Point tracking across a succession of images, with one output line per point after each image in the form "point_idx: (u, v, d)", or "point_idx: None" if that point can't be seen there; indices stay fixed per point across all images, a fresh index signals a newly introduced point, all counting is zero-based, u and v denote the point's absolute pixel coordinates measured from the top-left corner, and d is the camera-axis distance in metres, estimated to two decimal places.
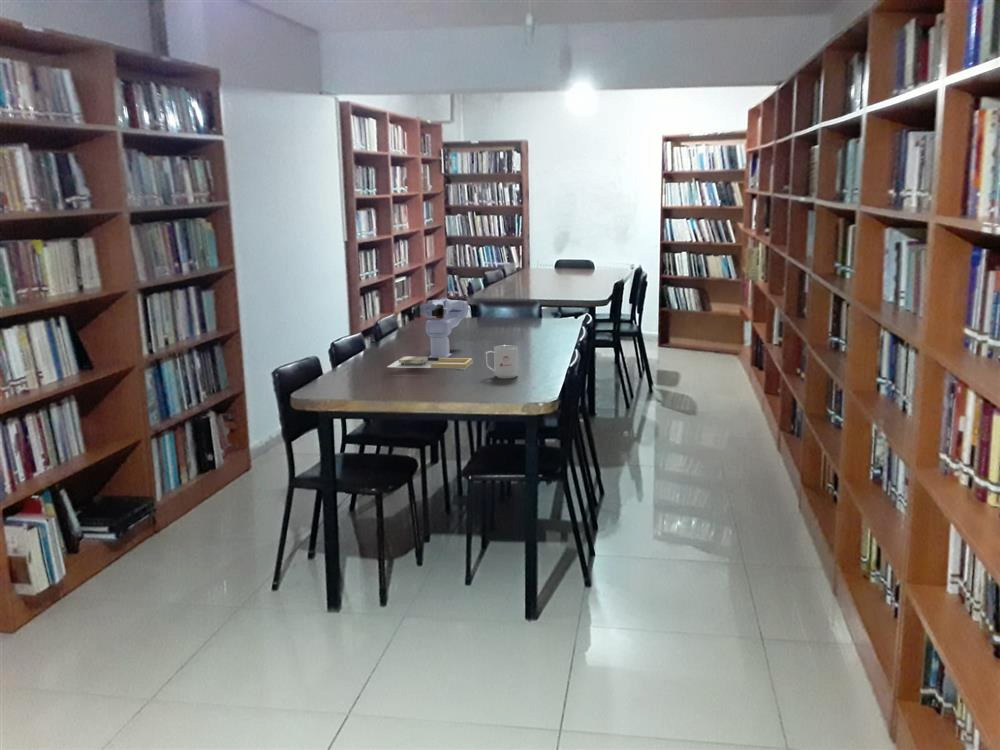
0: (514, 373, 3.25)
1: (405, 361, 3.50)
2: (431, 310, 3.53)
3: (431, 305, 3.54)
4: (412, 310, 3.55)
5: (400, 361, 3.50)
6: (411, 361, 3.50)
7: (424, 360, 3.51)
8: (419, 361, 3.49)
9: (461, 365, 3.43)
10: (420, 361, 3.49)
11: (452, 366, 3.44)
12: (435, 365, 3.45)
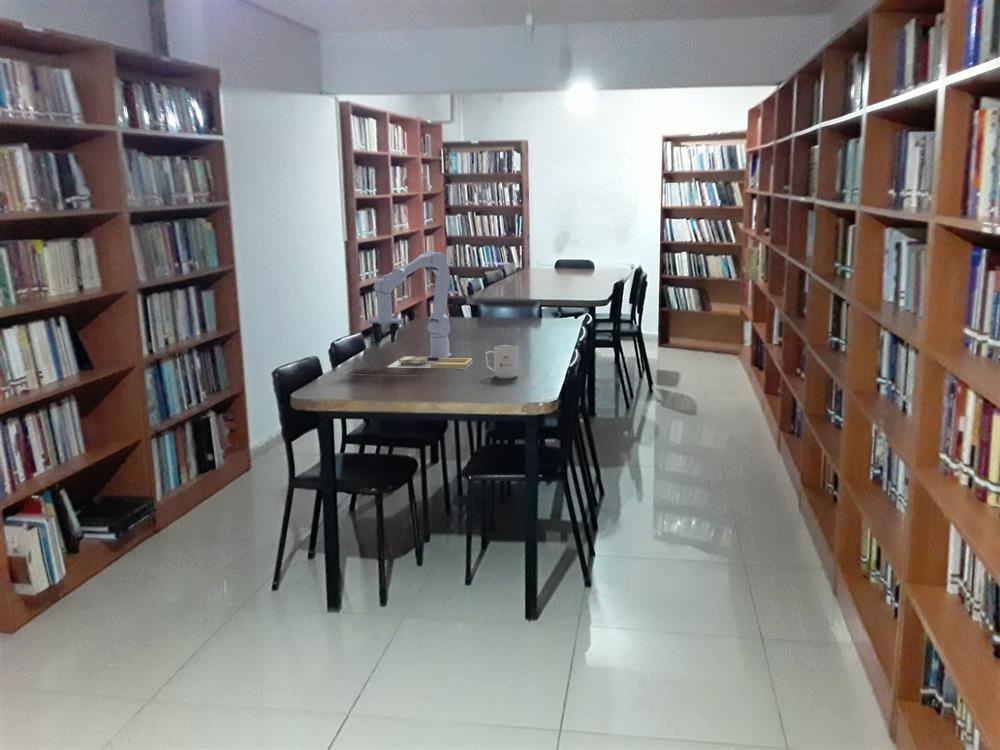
0: (514, 373, 3.25)
1: (405, 361, 3.50)
2: None
3: None
4: (368, 323, 3.54)
5: (400, 361, 3.50)
6: (411, 361, 3.50)
7: (424, 360, 3.51)
8: (419, 361, 3.49)
9: (461, 365, 3.43)
10: (420, 361, 3.49)
11: (452, 366, 3.44)
12: (435, 365, 3.45)
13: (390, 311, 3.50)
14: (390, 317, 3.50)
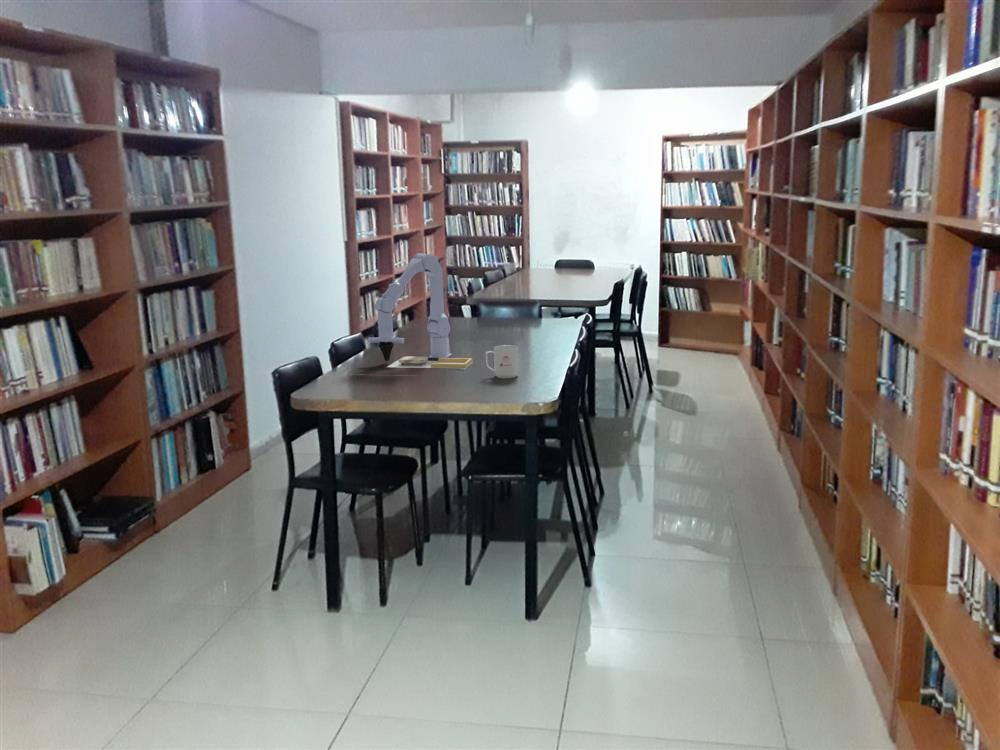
0: (514, 373, 3.25)
1: (405, 361, 3.50)
2: None
3: None
4: (369, 342, 3.55)
5: (400, 361, 3.50)
6: (411, 361, 3.50)
7: (424, 360, 3.51)
8: (419, 361, 3.49)
9: (461, 365, 3.43)
10: (420, 361, 3.49)
11: (452, 366, 3.44)
12: (435, 365, 3.45)
13: (391, 330, 3.51)
14: (391, 336, 3.52)
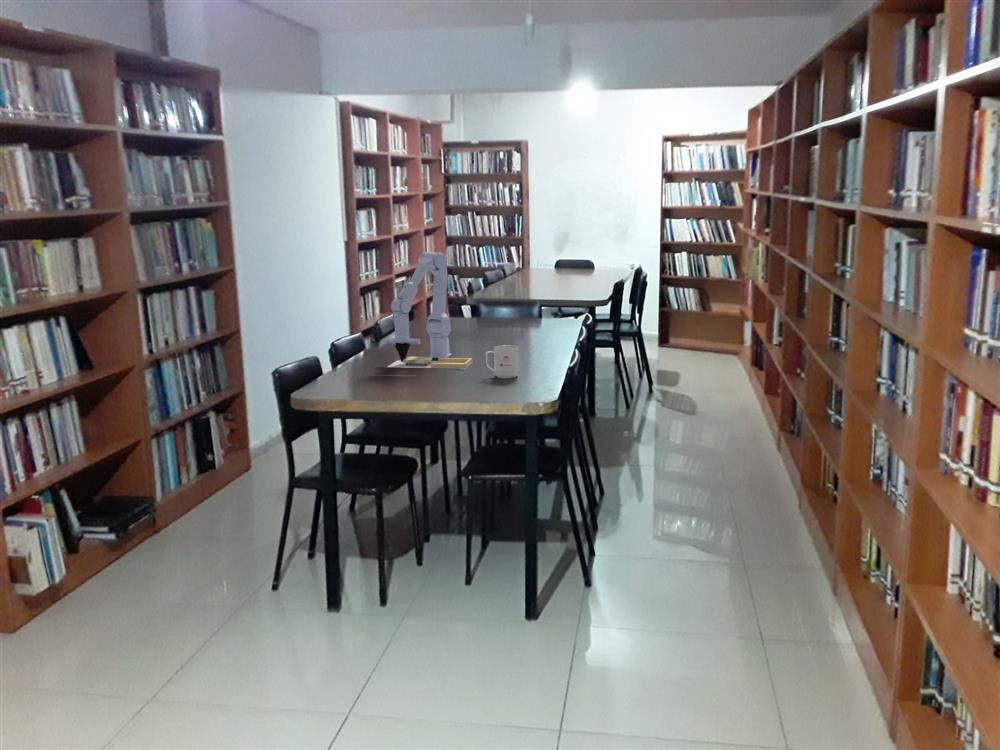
0: (514, 373, 3.25)
1: (409, 361, 3.50)
2: None
3: None
4: (386, 343, 3.54)
5: (404, 361, 3.50)
6: (415, 361, 3.49)
7: (428, 360, 3.50)
8: (423, 361, 3.48)
9: (461, 365, 3.43)
10: (424, 361, 3.48)
11: (452, 366, 3.44)
12: (435, 365, 3.45)
13: (407, 331, 3.50)
14: (407, 337, 3.50)
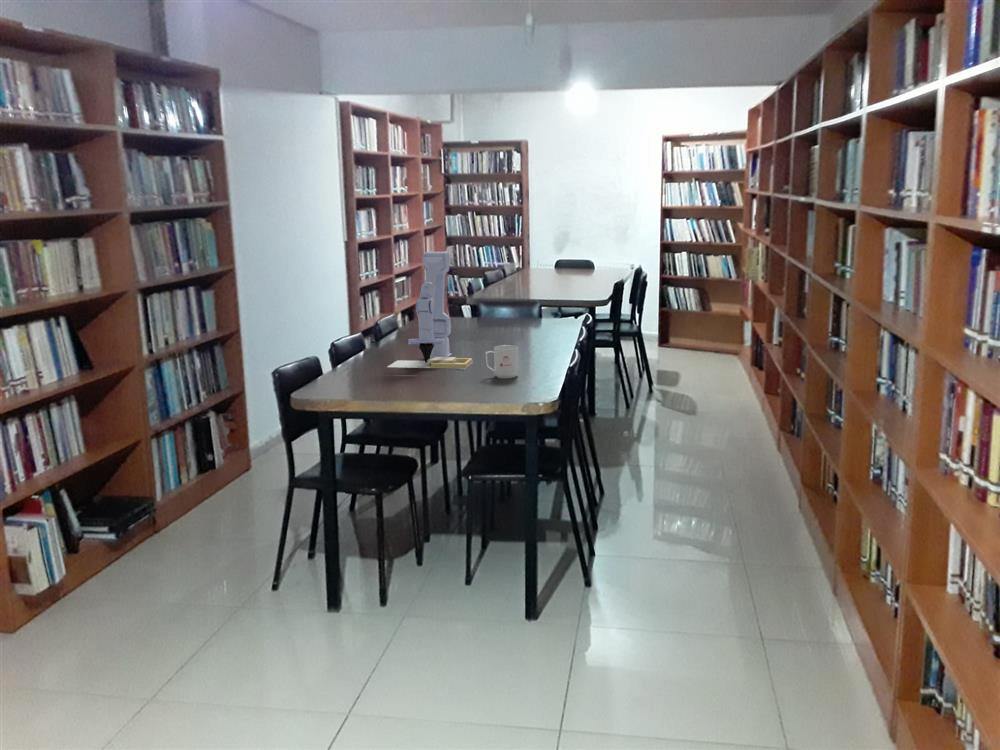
0: (514, 373, 3.25)
1: (434, 361, 3.48)
2: None
3: None
4: (409, 343, 3.52)
5: (429, 361, 3.48)
6: (440, 361, 3.47)
7: (453, 360, 3.49)
8: (448, 361, 3.47)
9: (461, 365, 3.43)
10: (449, 361, 3.46)
11: (452, 366, 3.44)
12: (435, 365, 3.45)
13: (431, 331, 3.48)
14: (431, 337, 3.48)
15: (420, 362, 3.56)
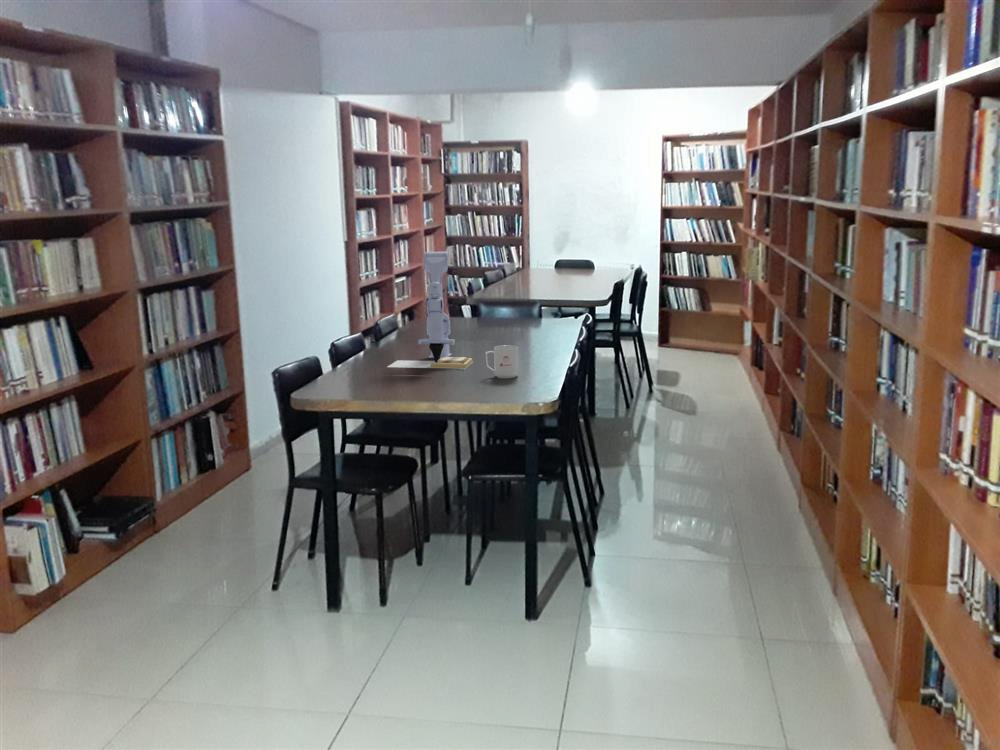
0: (514, 373, 3.25)
1: (444, 362, 3.47)
2: None
3: None
4: None
5: (439, 362, 3.47)
6: (450, 362, 3.46)
7: (463, 361, 3.48)
8: (458, 362, 3.46)
9: (461, 365, 3.43)
10: (459, 362, 3.46)
11: (452, 366, 3.44)
12: (435, 365, 3.45)
13: (442, 331, 3.47)
14: (442, 337, 3.48)
15: (420, 362, 3.56)
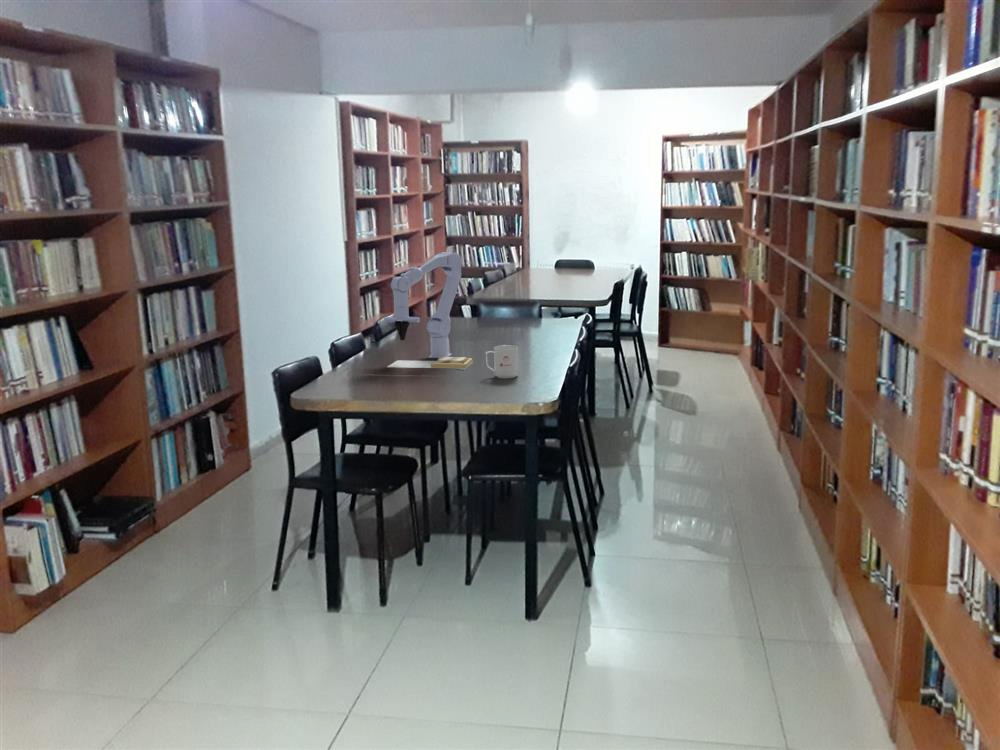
0: (514, 373, 3.25)
1: (444, 362, 3.47)
2: None
3: None
4: None
5: (439, 362, 3.47)
6: (450, 362, 3.46)
7: (463, 361, 3.48)
8: (458, 362, 3.46)
9: (461, 365, 3.43)
10: (459, 362, 3.46)
11: (452, 366, 3.44)
12: (435, 365, 3.45)
13: (407, 309, 3.53)
14: (407, 315, 3.54)
15: (420, 362, 3.56)
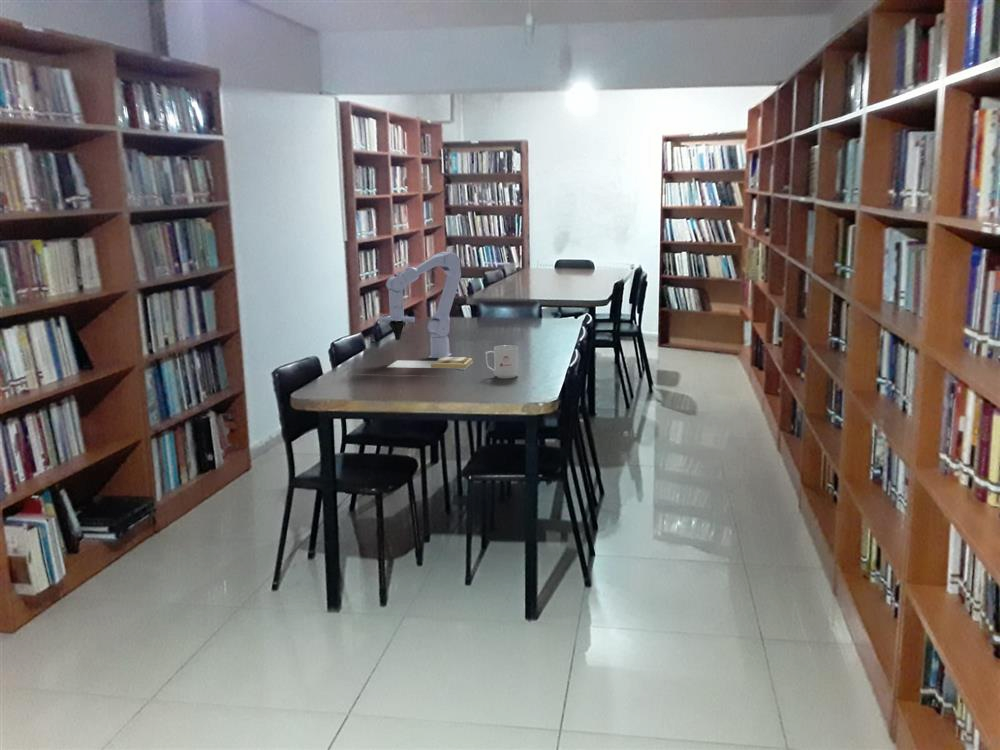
0: (514, 373, 3.25)
1: (444, 362, 3.47)
2: None
3: None
4: (380, 321, 3.59)
5: (439, 362, 3.47)
6: (450, 362, 3.46)
7: (463, 361, 3.48)
8: (458, 362, 3.46)
9: (461, 365, 3.43)
10: (459, 362, 3.46)
11: (452, 366, 3.44)
12: (435, 365, 3.45)
13: (402, 309, 3.55)
14: (402, 315, 3.55)
15: (420, 362, 3.56)
